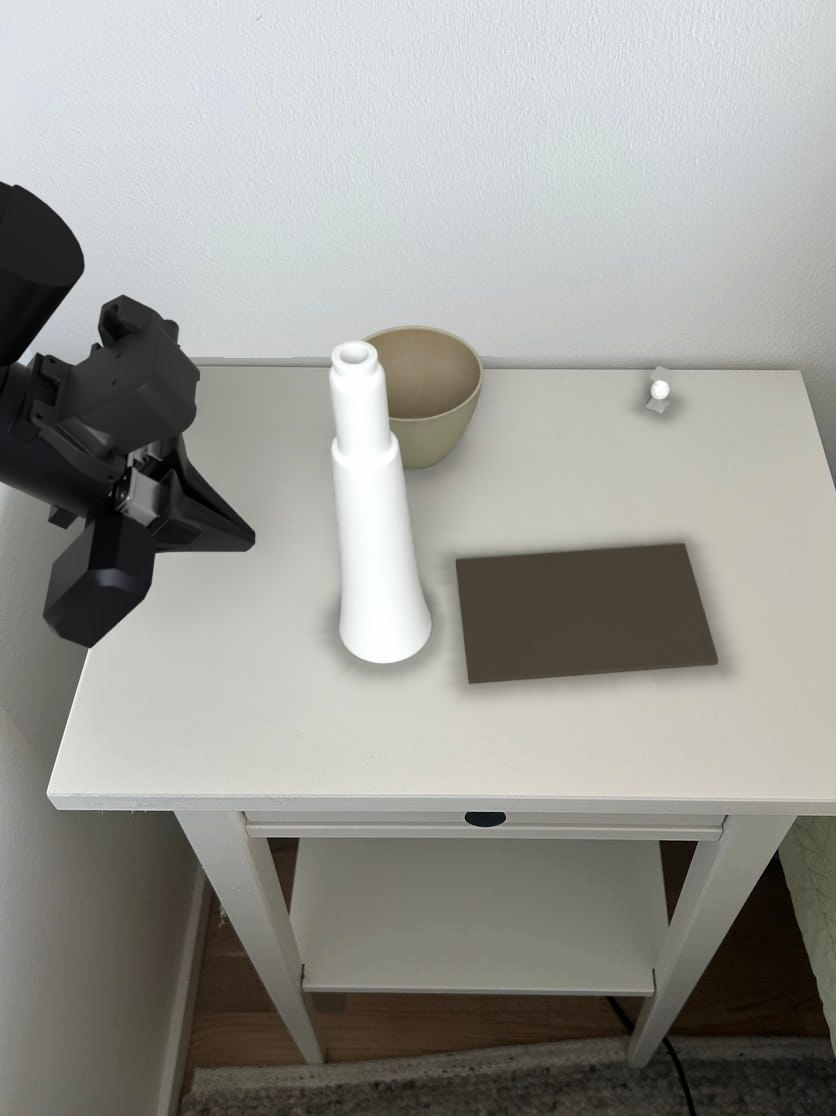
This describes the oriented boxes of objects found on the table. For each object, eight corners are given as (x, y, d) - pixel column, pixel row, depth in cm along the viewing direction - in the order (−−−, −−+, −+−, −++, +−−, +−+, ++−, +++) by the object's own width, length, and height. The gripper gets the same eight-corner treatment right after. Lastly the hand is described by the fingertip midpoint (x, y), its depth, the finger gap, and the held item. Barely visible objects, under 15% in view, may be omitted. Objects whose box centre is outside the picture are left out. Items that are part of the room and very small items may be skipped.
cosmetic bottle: (436, 659, 64) (424, 390, 47) (342, 669, 64) (292, 402, 46) (426, 586, 68) (410, 310, 50) (336, 595, 67) (288, 320, 49)
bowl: (323, 462, 75) (311, 386, 69) (397, 386, 80) (391, 309, 74) (437, 513, 72) (434, 438, 66) (506, 430, 77) (509, 354, 71)
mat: (469, 684, 63) (469, 680, 63) (455, 563, 69) (455, 559, 69) (717, 664, 64) (718, 661, 64) (683, 547, 70) (684, 543, 70)
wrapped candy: (669, 402, 79) (676, 371, 76) (662, 413, 78) (668, 383, 76) (652, 396, 79) (657, 365, 77) (644, 407, 79) (650, 376, 76)
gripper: (27, 448, 39) (342, 601, 49) (89, 186, 50) (336, 354, 60) (-89, 589, 45) (212, 701, 55) (-11, 328, 56) (229, 459, 65)
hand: (251, 542), depth 58 cm, fingers closed
